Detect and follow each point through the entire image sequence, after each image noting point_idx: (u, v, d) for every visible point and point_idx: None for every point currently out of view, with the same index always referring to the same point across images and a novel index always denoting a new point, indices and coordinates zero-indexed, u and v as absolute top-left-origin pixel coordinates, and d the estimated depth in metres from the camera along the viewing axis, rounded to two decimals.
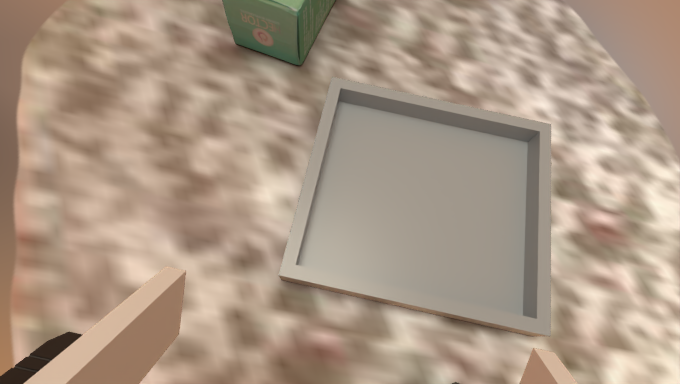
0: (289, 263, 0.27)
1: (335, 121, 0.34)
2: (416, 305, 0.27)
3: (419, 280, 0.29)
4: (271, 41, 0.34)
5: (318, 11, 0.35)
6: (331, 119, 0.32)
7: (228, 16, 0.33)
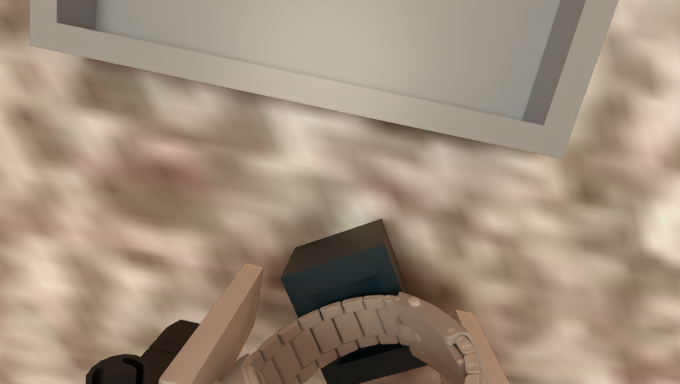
0: (47, 20, 0.14)
1: None
2: (298, 101, 0.14)
3: (327, 49, 0.15)
4: None
5: None
6: None
7: None
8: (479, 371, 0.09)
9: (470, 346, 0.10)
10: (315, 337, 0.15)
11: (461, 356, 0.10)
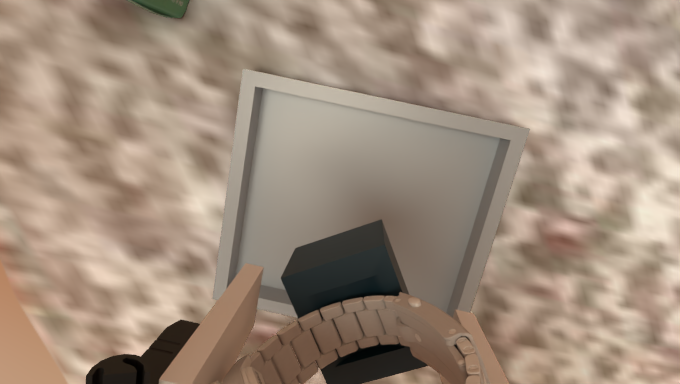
0: (221, 288, 0.30)
1: (260, 117, 0.28)
2: None
3: None
4: None
5: None
6: (247, 133, 0.27)
7: None
8: (480, 372, 0.09)
9: (471, 347, 0.10)
10: (315, 338, 0.15)
11: (462, 357, 0.10)
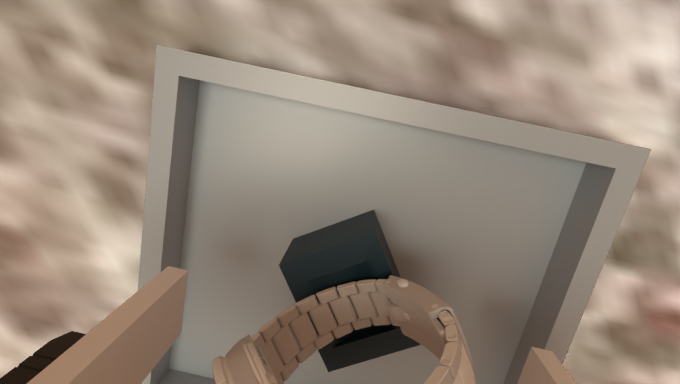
0: None
1: (197, 127, 0.18)
2: None
3: None
4: None
5: None
6: (169, 154, 0.16)
7: None
8: (458, 339, 0.10)
9: (451, 319, 0.11)
10: (312, 320, 0.15)
11: (443, 328, 0.11)
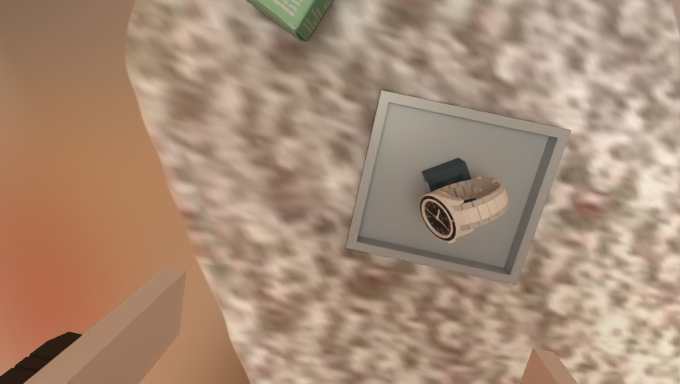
0: (352, 240, 0.43)
1: (384, 122, 0.41)
2: (432, 266, 0.43)
3: (438, 243, 0.44)
4: None
5: None
6: (380, 133, 0.40)
7: None
8: None
9: (500, 181, 0.35)
10: None
11: (497, 183, 0.35)
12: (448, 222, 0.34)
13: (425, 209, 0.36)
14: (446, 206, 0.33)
